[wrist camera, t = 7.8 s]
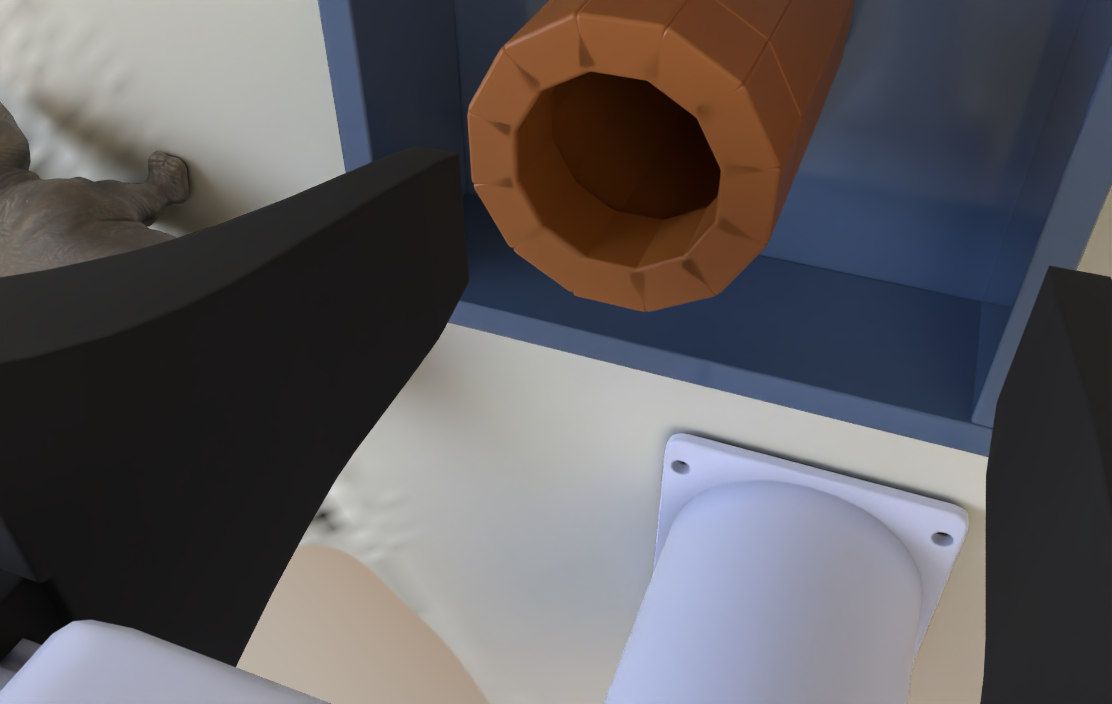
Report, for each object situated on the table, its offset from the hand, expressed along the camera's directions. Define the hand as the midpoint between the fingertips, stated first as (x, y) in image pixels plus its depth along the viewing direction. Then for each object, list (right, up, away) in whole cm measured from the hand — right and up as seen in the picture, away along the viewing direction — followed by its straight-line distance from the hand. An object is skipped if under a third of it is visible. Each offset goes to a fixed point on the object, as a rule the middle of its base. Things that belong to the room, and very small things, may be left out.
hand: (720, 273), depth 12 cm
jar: (+1, +6, +7) cm, 9 cm away
